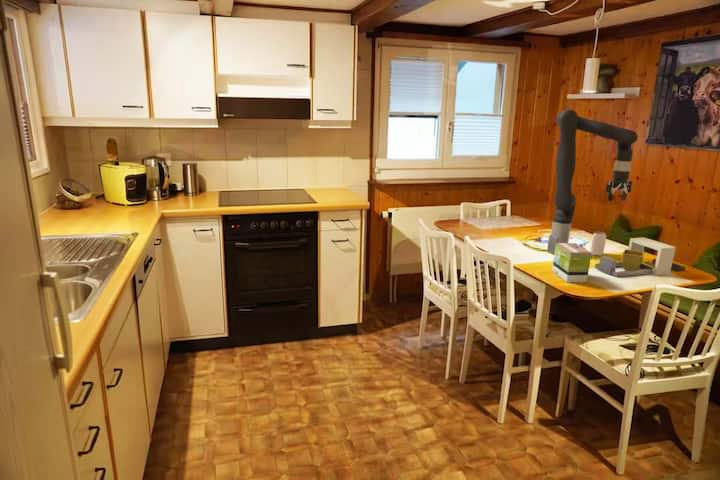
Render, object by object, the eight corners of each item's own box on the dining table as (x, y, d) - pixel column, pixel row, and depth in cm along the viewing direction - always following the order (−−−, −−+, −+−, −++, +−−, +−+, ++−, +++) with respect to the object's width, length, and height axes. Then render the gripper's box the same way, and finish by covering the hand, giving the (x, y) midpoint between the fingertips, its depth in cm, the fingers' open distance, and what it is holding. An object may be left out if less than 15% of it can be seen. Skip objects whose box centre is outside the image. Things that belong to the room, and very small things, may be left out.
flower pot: (639, 274, 235) (642, 256, 232) (619, 270, 240) (622, 252, 237) (641, 269, 242) (644, 252, 239) (621, 266, 247) (625, 249, 244)
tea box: (551, 271, 234) (555, 242, 230) (571, 271, 235) (575, 242, 231) (566, 282, 220) (571, 251, 216) (587, 283, 221) (592, 251, 217)
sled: (615, 276, 229) (617, 262, 227) (593, 267, 241) (595, 254, 239) (652, 273, 236) (655, 259, 234) (629, 264, 249) (631, 251, 247)
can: (598, 256, 261) (602, 234, 258) (587, 253, 266) (591, 232, 263) (605, 254, 265) (609, 233, 261) (594, 251, 270) (597, 230, 266)
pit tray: (676, 271, 241) (677, 267, 241) (652, 262, 254) (653, 259, 253) (684, 270, 243) (685, 267, 242) (659, 261, 255) (660, 258, 255)
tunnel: (655, 275, 234) (661, 248, 231) (625, 263, 251) (630, 238, 247) (669, 273, 237) (675, 247, 233) (638, 262, 253) (643, 237, 250)
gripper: (616, 170, 245) (611, 202, 250) (638, 170, 250) (633, 201, 254) (605, 168, 252) (600, 199, 257) (626, 168, 257) (621, 198, 261)
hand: (616, 200), depth 255 cm, fingers open, 8 cm apart
